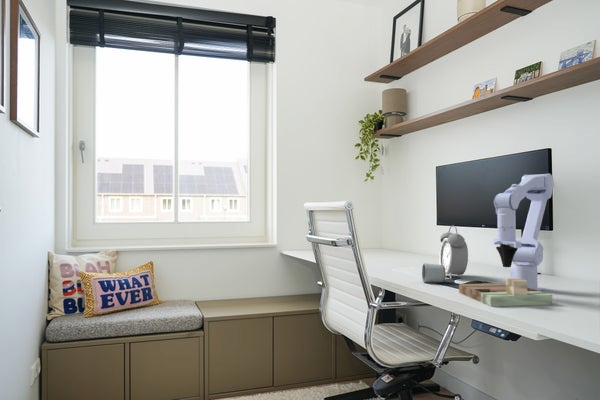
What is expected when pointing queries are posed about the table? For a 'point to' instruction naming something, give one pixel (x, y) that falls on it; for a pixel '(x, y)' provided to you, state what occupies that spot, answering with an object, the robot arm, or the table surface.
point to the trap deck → (503, 295)
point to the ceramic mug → (433, 273)
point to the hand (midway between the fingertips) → (506, 267)
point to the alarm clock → (453, 253)
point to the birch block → (516, 286)
